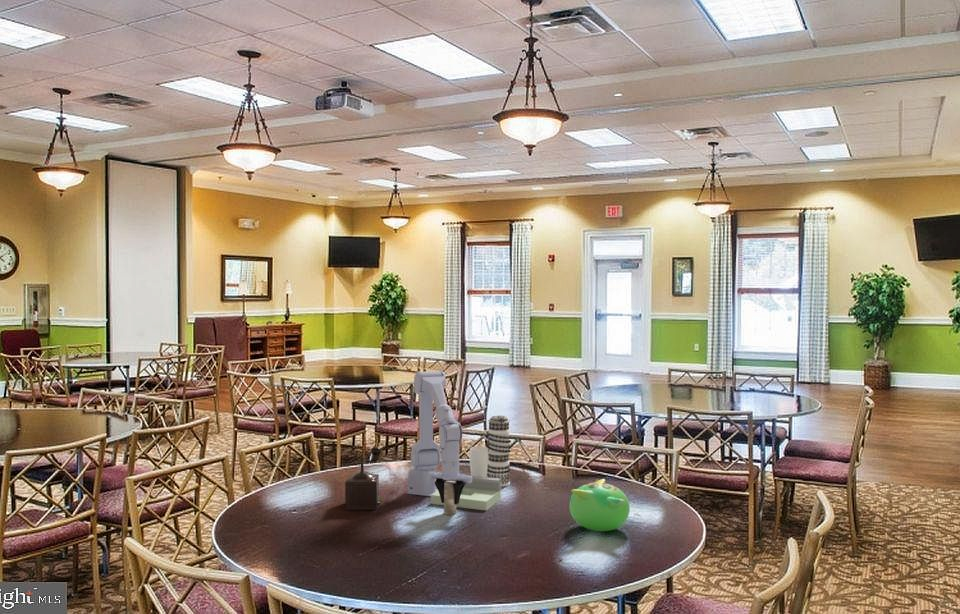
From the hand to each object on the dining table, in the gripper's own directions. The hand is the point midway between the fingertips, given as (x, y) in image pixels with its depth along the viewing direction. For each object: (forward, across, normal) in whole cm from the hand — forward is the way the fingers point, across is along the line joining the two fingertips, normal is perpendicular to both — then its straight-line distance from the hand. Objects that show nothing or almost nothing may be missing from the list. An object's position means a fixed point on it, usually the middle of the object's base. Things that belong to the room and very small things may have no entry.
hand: (450, 502), depth 236 cm
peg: (+3, 0, 0) cm, 3 cm away
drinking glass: (+4, -1, +29) cm, 29 cm away
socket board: (+3, 0, +14) cm, 14 cm away
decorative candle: (+4, +3, +39) cm, 39 cm away
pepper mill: (+4, -31, -1) cm, 31 cm away
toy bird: (+4, +48, +2) cm, 48 cm away
